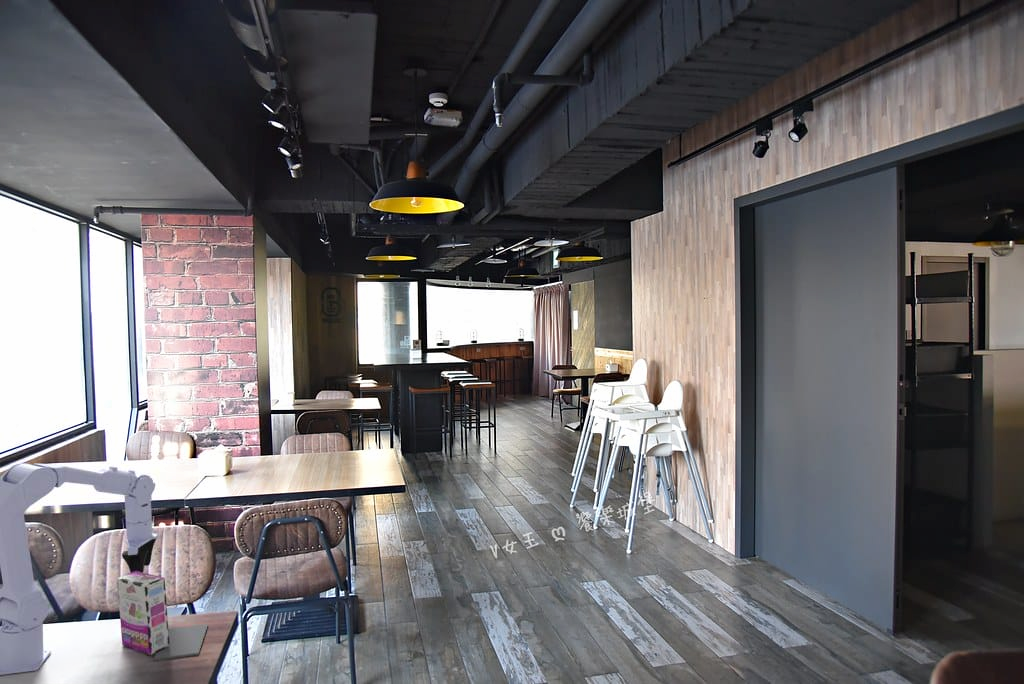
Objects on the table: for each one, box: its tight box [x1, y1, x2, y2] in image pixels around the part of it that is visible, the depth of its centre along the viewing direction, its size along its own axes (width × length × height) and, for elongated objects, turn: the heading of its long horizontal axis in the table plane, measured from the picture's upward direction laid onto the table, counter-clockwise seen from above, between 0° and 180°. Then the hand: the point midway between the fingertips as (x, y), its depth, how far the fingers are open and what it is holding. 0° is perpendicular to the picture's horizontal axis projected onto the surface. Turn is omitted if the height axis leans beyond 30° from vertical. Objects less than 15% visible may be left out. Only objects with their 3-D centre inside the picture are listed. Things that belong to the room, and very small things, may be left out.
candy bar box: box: [116, 571, 170, 656], centre depth 151 cm, size 11×5×16 cm, turn 62°
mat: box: [153, 624, 209, 661], centre depth 154 cm, size 9×14×1 cm, turn 17°
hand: (141, 571), depth 168 cm, fingers open, 7 cm apart
